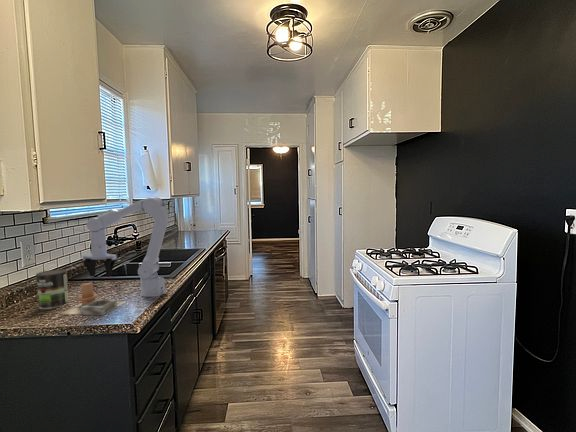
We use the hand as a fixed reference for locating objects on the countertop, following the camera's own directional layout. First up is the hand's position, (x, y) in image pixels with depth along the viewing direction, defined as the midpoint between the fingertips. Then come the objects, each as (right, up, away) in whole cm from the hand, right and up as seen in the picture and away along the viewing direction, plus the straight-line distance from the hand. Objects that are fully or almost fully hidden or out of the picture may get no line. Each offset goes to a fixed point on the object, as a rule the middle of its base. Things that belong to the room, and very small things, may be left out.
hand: (100, 275), depth 139 cm
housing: (+5, -11, -13) cm, 18 cm away
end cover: (+1, -10, -10) cm, 14 cm away
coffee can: (-17, -12, -5) cm, 21 cm away
